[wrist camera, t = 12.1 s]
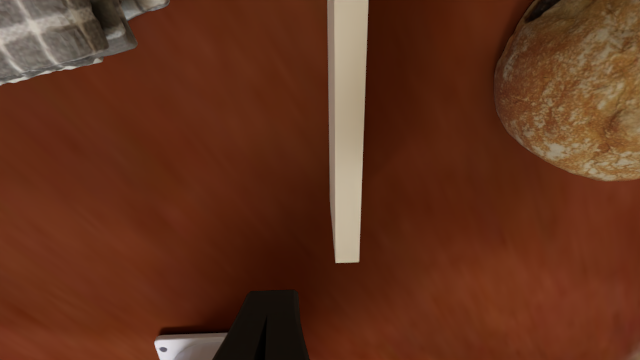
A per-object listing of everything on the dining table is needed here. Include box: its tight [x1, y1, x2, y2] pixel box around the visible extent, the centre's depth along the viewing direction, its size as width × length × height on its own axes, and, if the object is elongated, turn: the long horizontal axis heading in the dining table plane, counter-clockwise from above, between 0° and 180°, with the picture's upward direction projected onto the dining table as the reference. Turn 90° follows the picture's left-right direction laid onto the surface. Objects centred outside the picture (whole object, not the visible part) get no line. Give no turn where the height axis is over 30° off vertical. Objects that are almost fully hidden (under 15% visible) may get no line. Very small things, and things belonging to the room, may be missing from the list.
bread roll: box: [494, 0, 640, 182], centre depth 14 cm, size 10×10×8 cm
